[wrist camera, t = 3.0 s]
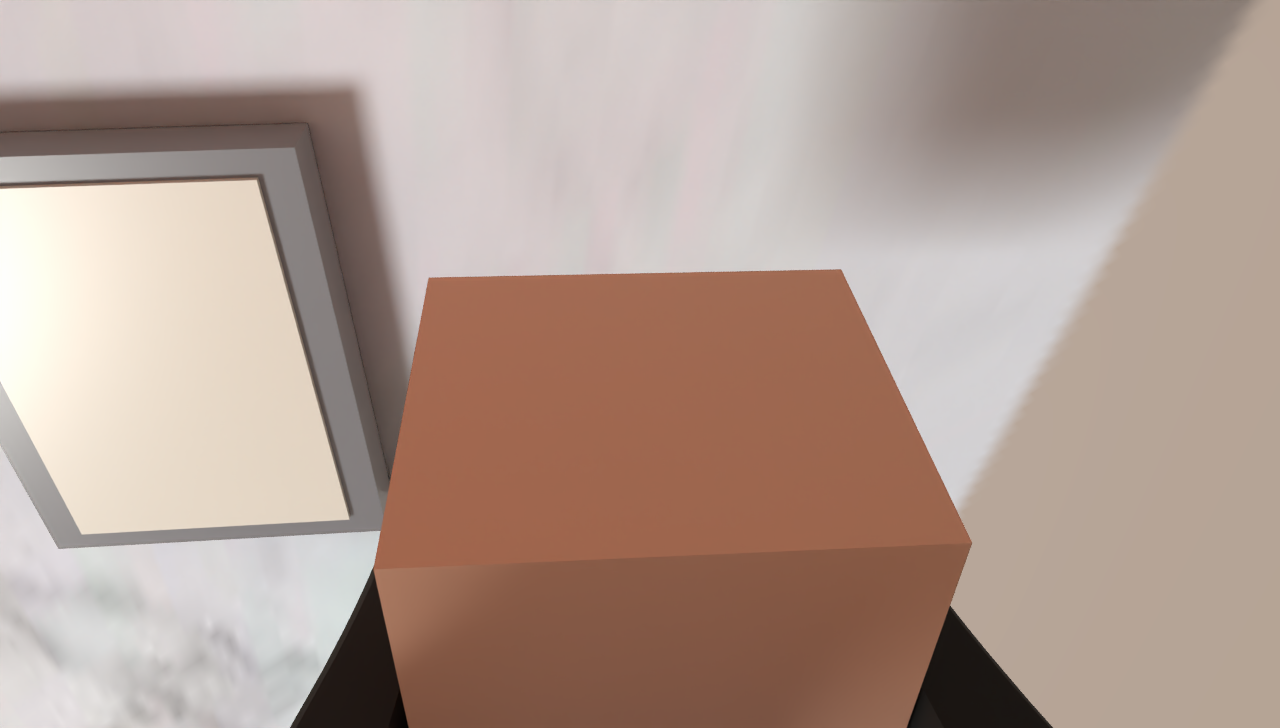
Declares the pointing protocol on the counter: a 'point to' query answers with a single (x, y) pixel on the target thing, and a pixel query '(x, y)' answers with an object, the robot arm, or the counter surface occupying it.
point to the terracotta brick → (660, 509)
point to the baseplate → (180, 339)
